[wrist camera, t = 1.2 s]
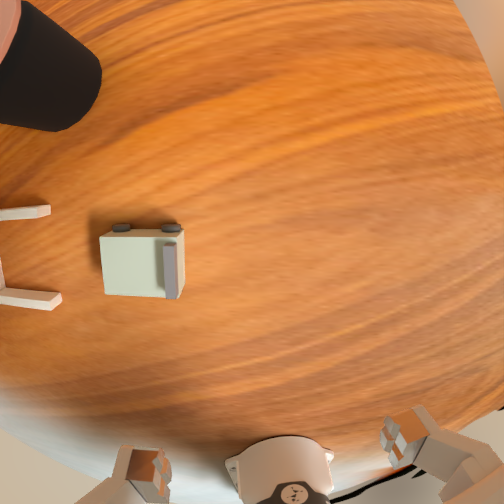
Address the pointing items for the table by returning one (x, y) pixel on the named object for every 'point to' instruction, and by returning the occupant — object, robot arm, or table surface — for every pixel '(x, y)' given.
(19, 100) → the coffee jar
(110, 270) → the sage cart
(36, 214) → the dock bay
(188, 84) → the table surface
